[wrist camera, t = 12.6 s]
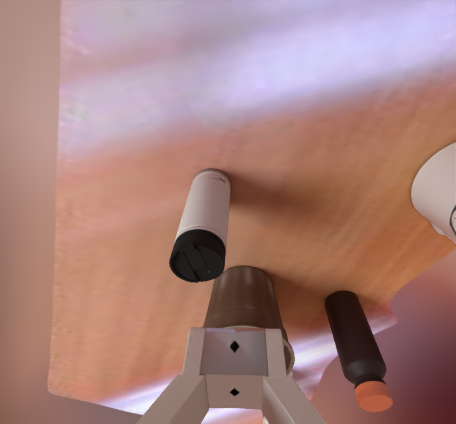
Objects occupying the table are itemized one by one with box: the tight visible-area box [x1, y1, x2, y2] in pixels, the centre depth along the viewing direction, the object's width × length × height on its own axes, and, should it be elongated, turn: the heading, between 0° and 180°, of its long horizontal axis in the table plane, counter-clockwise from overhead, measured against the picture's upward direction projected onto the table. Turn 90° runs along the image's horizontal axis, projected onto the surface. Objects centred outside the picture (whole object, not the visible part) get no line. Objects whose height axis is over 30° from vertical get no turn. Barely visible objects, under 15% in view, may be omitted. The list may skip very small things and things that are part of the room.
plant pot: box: [202, 266, 295, 375], centre depth 57 cm, size 16×16×16 cm
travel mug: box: [169, 169, 231, 283], centre depth 43 cm, size 6×7×20 cm
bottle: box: [325, 291, 393, 412], centre depth 56 cm, size 7×7×20 cm
